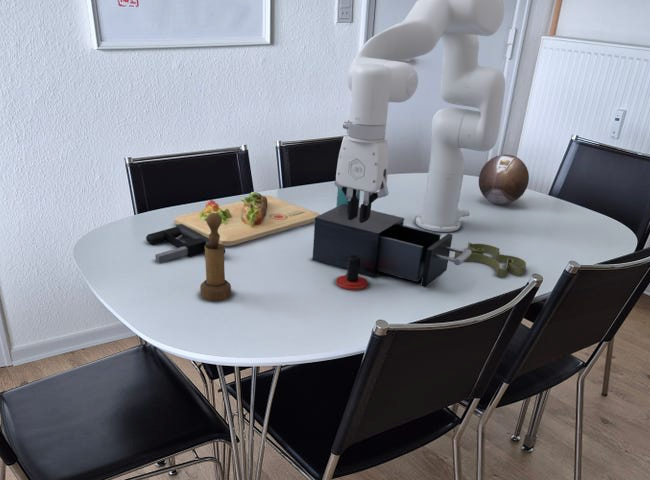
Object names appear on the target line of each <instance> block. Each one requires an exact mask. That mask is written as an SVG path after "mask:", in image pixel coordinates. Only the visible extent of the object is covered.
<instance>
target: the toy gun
mask: <svg viewBox="0 0 650 480" xmlns="http://www.w3.org/2000/svg"><path fill="white" fill-rule="evenodd" d="M191 228H192V227H191ZM191 228H189V227H187V226H185V225H183V224H178V225H177V224H176V225H175V226H174V227H170V228H167V229H162V230H158V231H156V232H152V233H149V234H147V235H146V237H145V240H146V242H147V243H148V244H150V245H156V244H160V243H162V242H166V243H168V244H169V245H171V246H173V247H175V248H173V249H170V250H169V249H168V250H166V251H163V252H159V253H156V254H155V261H156V262H157V263H158V264H162V263H165V262H168V261H172V260H175V259H178V258H181V257H184V256H187V257H189V258H192V257H195V256H198V255H202V254H205V245H206V244H209V243H210V240H209V238H207V237H205V236H203V235H202V234H200V233H198V232H196V231H194V230H192V229H191ZM182 238H183V239H185V240H186V241H181V240H180V239H182ZM226 249H227V248H226V247H224V255H226Z"/></svg>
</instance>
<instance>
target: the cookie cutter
mask: <svg viewBox="0 0 650 480" xmlns="http://www.w3.org/2000/svg"><path fill="white" fill-rule="evenodd" d="M468 249H469V250H471V252H472V254H471V256H469V257H468V258H467V259H466V260H465V261H464V262H473V263H480V264H484V265H488V266H490V267H491V268H493V269H494V270H495V271H496V277H499V278H504V277H505V276H506V275H507V272H508V273H510V274H512V275H515V276H517V277H521V276H522V275H524V273H525V270H526V266H527V261H525V260H524V259H523V258H520V257H517V256H513V255H508V254H500V252H501V251H500V247H497V246H494V245H491V244H485V243H472V242H468V243H467V248H466V250H468ZM485 253H486V254H491V255H493V257H494V258H493V257H490V256H488V255H485ZM460 255H461V253H457V252H454V257H453V258H454V259H456V258H457V257H458V256H460ZM501 263H503V264H505V267H504V268H501Z"/></svg>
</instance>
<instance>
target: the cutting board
mask: <svg viewBox="0 0 650 480" xmlns="http://www.w3.org/2000/svg"><path fill="white" fill-rule="evenodd" d="M210 213H217V214H219V215H220V217H221V219H222V222H221V225H220V227H219V228H218V234H219V235H220V239H219V244H222V245H224V247H225V246H228V247H229V246H235V245H239V244H242V243H245V242H249V241H252V240H256V239H259V238H263V237H266V236H270V235H272V234H276V233H280V232H283V231H286V230H290V229H295V228H297V227H300V226H304V225H307V224H311V223H315V217H317V216H319V215H321V214H320V213H318V212H316V211H313V210H310V209H307V208H305V207H303V206H300V205H297V204H294V203H291V202H289V201H286V200H283V199H281V198H278V197H275V196H274V195H267V194H266V195H262V194H261V193H259V192H257V191H251V192H250V193H249V196H247V197H242V198H241V199H240V201H235V202H230V203H226V204H223V205H219V203H217V202H216V201H215V200H213V199H210V200H209V201H207V203H206V204H205V209H202V210H201V209H200V210H197V211H193V212H189V213H185V214H182V215H177V216H176V217H175V218H174V220H173V221H174V222H173V223H174V224H175V225H176V226H177V225H178V224H183V225H185V226H187V227H189V228H191V227H192V228H191V229H192V230H194V231H196V232H198V233H200V234H202V235H203V236H205V237H207V238H209V234H210V233H211V230H210V228H209V226H208V224H207V216H208V215H209V214H210Z"/></svg>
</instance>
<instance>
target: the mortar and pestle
mask: <svg viewBox="0 0 650 480" xmlns="http://www.w3.org/2000/svg"><path fill="white" fill-rule="evenodd" d="M221 222H222V219H221V217H220V215H219V214H217V213H210V214H209V215H208V216H207V224H208V226H209V228H210V230H211V233H210V234H209V240H210V243H209V244H206V245H205V253H204V256H205V259H204V260H205V262H204V263H205V280H204V281H203V282H201V284H200V286H199V287H200V288H199V290H200V291H199V292H200V297H201V298H202V299H203V300H205V301H208V302H223V301H226V300H228V299H229V298H231V296H232V285H231V283H230V282H229V281H228V280H227V279H226V276H225V273H226V271H225V254H224V248H225V245H222V244H219V239H220V235H219V234H218V228H219V227H220V225H221Z"/></svg>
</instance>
